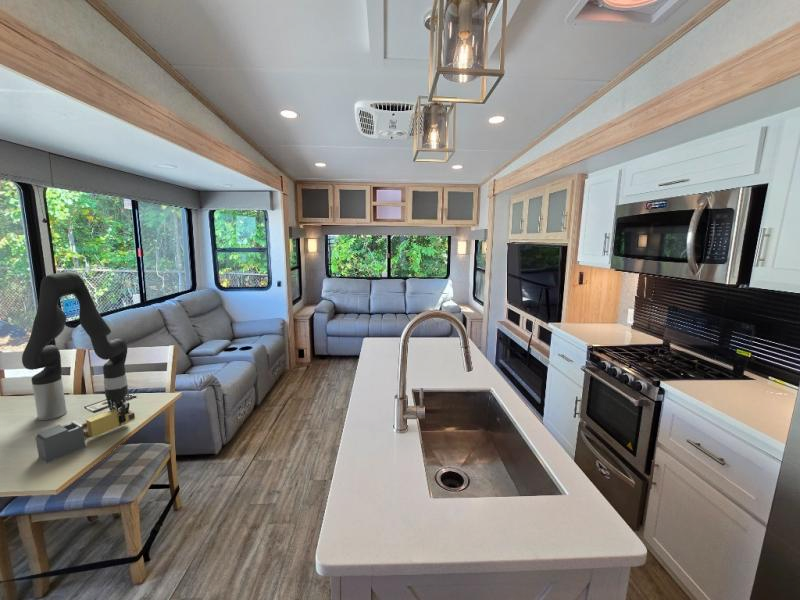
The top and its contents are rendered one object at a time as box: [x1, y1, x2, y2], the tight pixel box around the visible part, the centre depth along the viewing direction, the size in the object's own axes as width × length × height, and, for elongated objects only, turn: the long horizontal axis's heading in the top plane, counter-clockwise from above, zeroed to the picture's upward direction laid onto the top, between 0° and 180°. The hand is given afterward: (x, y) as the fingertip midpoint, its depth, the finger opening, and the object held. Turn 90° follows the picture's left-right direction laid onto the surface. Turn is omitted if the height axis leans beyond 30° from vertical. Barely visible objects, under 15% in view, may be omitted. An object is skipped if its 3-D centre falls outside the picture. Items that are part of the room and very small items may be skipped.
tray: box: [76, 410, 136, 438], centre depth 147 cm, size 8×18×2 cm, turn 155°
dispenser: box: [34, 420, 87, 464], centre depth 127 cm, size 7×11×10 cm, turn 155°
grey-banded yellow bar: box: [85, 407, 130, 438], centre depth 141 cm, size 4×13×7 cm, turn 155°
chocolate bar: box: [84, 391, 137, 413], centre depth 166 cm, size 9×1×18 cm
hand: (120, 420), depth 145 cm, fingers closed on grey-banded yellow bar, 3 cm apart
